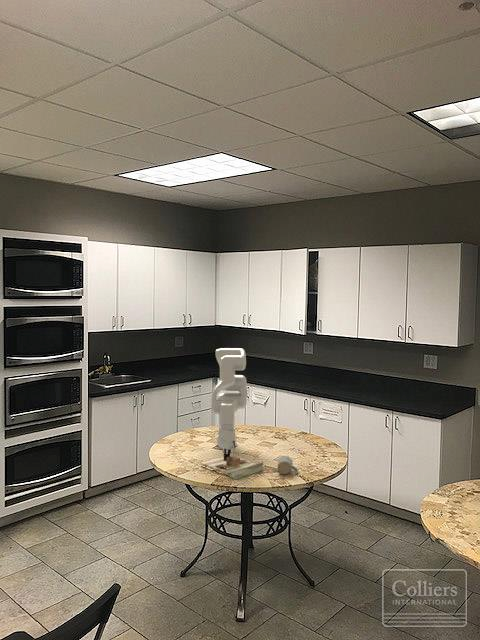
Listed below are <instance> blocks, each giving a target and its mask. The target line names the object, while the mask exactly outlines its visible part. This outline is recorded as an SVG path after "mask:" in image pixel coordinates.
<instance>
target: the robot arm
mask: <svg viewBox="0 0 480 640" xmlns="http://www.w3.org/2000/svg"><path fill="white" fill-rule="evenodd" d="M246 355H247V354H246V351H245V349H244V348H238V347H234V348H233V347H231V348H230V347H224V348H223V347H221V348H217V349H216V350H215V358H216V361H217V363H218V365H219V382H218V383H217V384H216V386H214V388H213V390H212V392H211V403H210V405H211V407H210V408H211V411H212V413H213V414H216V415H217V414H218V431H217V435H216V436H215V437H214V438H215V440H217V441H216V442H215V445H216V444H217V445H218V446H217V445H216V446H217V447H218V448H220V449H221V450H222V453H223V456H224V461H227V457H229V456H230V455H231V454H232V452H235V451H236V449H235V448H236V446H238V442H237V437H236V435H237V434H236V429H235V424H236V423H235V421H236V419H235V417H236V416H235V414H236V413H237V411H238V410H242V409H245V408H246V407H247V400H248V399H247V398H248V397H247V396H248V394H247V393H248V391H247V389H248V385H247V377H246V376H245V375H243V374H236V371H244V370H245V369H246V368H247V367H246V366H247V358H246ZM221 391H225V392H222V393H220V392H221ZM219 393H220V394H219Z"/></svg>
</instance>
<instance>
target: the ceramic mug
mask: <svg viewBox="0 0 480 640" xmlns="http://www.w3.org/2000/svg"><path fill="white" fill-rule="evenodd" d="M293 463H294V462H293V460H292V458H291V457H289V456H288V455H283V456H280V457H279V458H278V460H277V467H276V468H277V471H278V472H279V473H280V474H281V475H288V474H290V473H291V474H294V475H297V474H299V473H298V472H299V470H298V468H297V467H296V466H294V465H293Z"/></svg>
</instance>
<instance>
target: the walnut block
mask: <svg viewBox="0 0 480 640" xmlns="http://www.w3.org/2000/svg"><path fill="white" fill-rule="evenodd" d="M240 459H241V457H240V456H236V455H231V456H229V457H227V464H226V465H229V466H231V467H235V466H238V465H241V463H240Z"/></svg>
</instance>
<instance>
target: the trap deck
mask: <svg viewBox="0 0 480 640" xmlns="http://www.w3.org/2000/svg"><path fill="white" fill-rule="evenodd" d="M230 456H232V455H231V454H230ZM241 463H242V464H241ZM226 464H227V461H224V455H222V456H220V457H216V458H213V459H210V460H205V461H203V462H202V461H201V462H200V466H201V465H203V466H205V467H208V468H210V469H213V470H215V471H218V472H221V473H224V474H226V475H229V476H231V477H233V478H232V479H234V478H238V479H240V477H241V478H243V476H244V477H246V475H247V476H249V475H252V474H254V473H255V474H256V473H258V472H261V471H263V470H264V462H263V461H260V462H256V463H255V462H252V461H249V460H245V459H243V458H240V465H238V466H235V467H231V466H229V465H226ZM219 467H225V468H228V469H225V468H224V469H223V468H219ZM215 471H214V472H215ZM226 475H225V476H226ZM231 477H230V478H231Z"/></svg>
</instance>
